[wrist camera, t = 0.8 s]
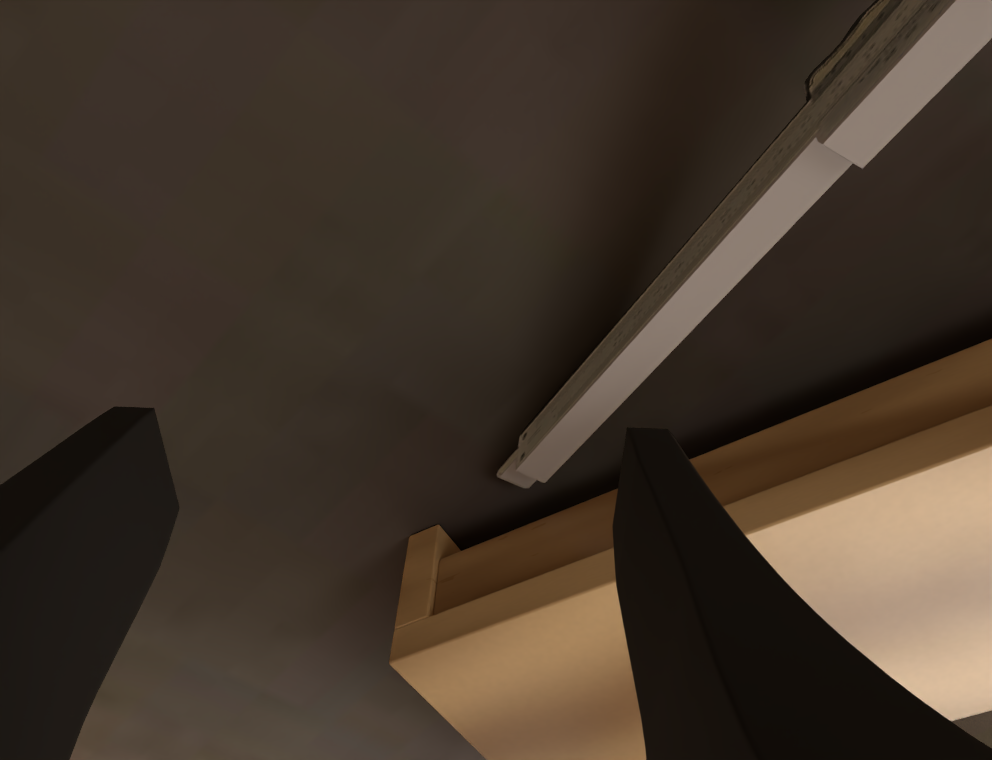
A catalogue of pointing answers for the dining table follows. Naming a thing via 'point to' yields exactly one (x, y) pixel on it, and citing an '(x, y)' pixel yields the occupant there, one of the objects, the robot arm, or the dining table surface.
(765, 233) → the caliper
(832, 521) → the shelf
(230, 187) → the dining table surface
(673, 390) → the dining table surface
